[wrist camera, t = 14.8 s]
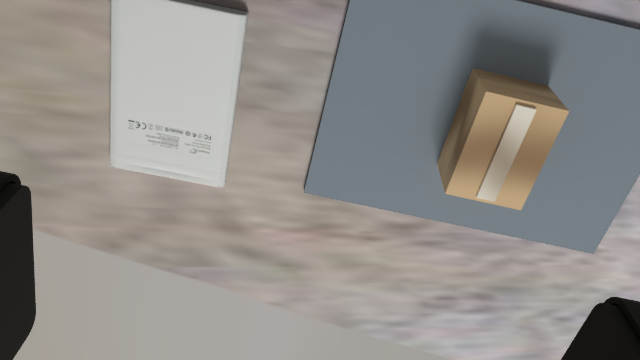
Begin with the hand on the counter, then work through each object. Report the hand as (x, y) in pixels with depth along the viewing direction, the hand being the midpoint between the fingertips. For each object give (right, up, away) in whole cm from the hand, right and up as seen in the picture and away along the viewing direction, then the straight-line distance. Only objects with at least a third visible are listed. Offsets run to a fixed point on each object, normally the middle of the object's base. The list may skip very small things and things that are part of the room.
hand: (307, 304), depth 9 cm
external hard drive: (-9, +8, +29) cm, 32 cm away
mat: (+12, +6, +29) cm, 31 cm away
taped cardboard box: (+11, +6, +28) cm, 31 cm away
